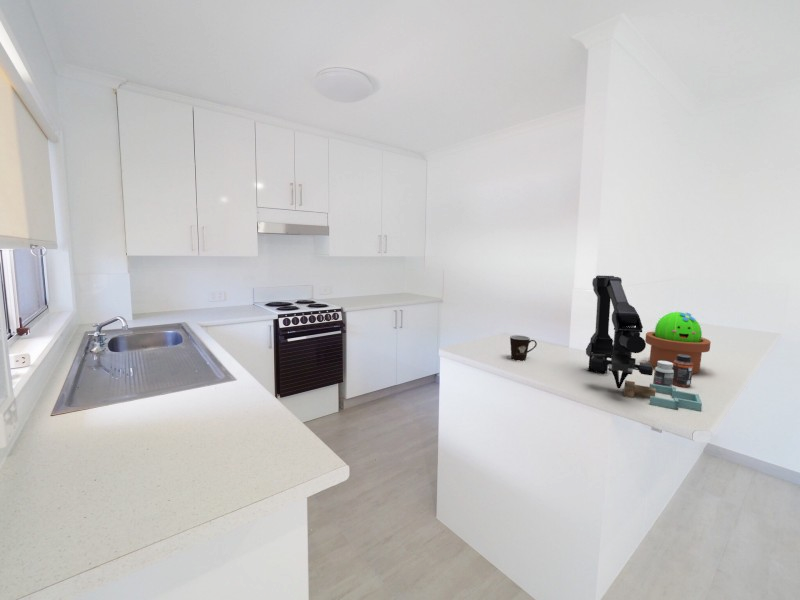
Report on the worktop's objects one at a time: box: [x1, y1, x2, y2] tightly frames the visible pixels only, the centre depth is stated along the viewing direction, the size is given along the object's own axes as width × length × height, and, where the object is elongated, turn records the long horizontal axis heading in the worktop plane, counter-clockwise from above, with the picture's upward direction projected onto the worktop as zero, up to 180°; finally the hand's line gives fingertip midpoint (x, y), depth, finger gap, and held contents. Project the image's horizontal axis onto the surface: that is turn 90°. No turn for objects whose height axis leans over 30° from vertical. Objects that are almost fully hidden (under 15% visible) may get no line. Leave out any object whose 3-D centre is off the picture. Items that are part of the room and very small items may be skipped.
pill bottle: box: [652, 361, 674, 387], centre depth 134 cm, size 6×6×10 cm
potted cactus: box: [644, 311, 711, 375], centre depth 158 cm, size 22×22×25 cm
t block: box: [622, 379, 656, 399], centre depth 129 cm, size 9×9×3 cm
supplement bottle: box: [672, 354, 693, 388], centre depth 138 cm, size 6×6×11 cm
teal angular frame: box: [648, 382, 703, 412], centre depth 123 cm, size 14×15×2 cm
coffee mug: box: [509, 334, 538, 362], centre depth 169 cm, size 12×9×10 cm
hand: (618, 388), depth 132 cm, fingers closed
